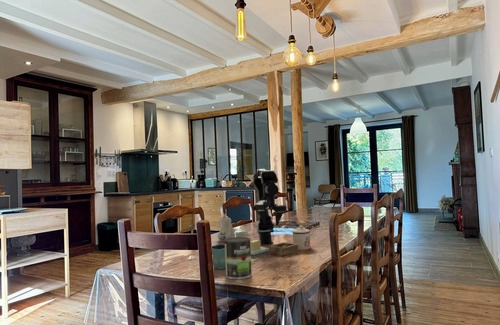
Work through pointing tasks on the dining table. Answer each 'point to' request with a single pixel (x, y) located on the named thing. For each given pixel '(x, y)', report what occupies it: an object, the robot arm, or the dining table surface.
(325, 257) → the dining table surface
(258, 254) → the coaster
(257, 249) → the lid
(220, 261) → the flower pot
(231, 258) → the coffee can
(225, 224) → the chinaware
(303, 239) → the teacup with lid
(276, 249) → the box
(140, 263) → the dining table surface
